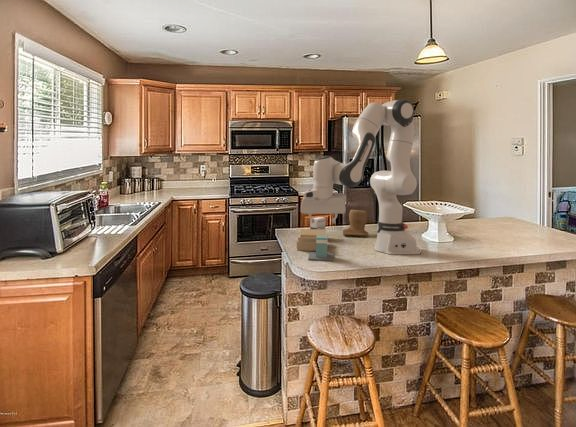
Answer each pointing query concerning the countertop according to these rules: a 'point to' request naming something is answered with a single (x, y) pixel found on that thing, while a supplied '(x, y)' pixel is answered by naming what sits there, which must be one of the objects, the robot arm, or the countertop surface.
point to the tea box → (321, 246)
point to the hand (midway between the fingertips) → (323, 223)
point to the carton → (308, 239)
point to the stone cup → (356, 223)
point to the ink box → (318, 223)
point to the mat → (313, 257)
